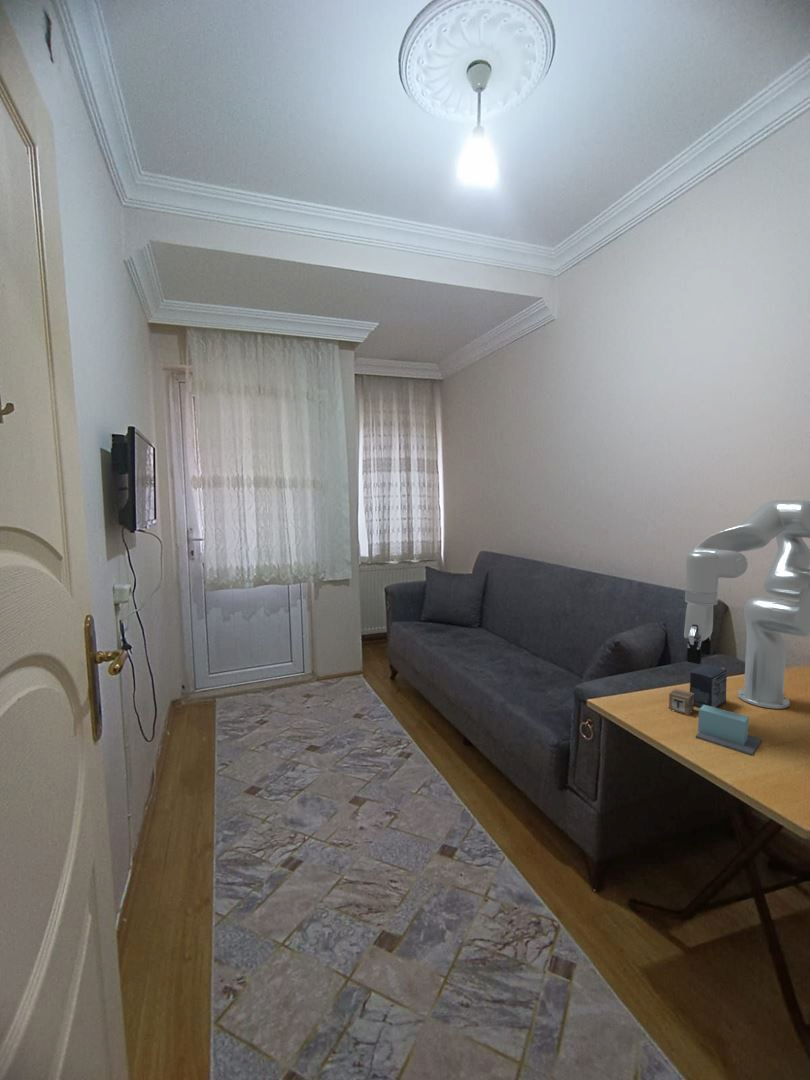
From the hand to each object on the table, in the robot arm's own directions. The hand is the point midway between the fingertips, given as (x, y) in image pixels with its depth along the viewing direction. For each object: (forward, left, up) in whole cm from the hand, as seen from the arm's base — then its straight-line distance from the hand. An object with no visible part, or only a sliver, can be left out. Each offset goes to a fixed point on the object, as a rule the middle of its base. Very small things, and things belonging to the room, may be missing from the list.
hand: (698, 658), depth 132 cm
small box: (-13, -1, -18) cm, 22 cm away
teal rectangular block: (+7, +8, -17) cm, 20 cm away
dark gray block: (+7, +9, -17) cm, 21 cm away
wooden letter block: (-3, -5, -18) cm, 18 cm away
